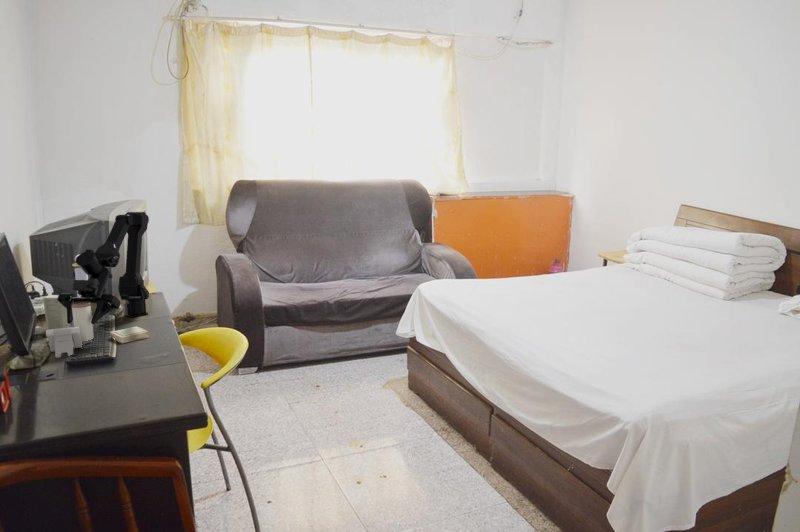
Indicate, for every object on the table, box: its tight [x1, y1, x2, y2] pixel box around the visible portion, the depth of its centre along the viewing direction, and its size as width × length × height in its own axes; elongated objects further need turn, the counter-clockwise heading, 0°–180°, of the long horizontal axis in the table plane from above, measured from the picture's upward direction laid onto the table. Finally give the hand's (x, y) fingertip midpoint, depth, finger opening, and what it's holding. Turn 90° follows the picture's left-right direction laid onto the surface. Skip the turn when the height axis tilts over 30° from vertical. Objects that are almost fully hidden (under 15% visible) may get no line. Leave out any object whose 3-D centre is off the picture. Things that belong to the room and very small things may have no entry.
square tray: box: [109, 326, 150, 344], centre depth 197 cm, size 9×9×2 cm
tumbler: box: [71, 301, 95, 341], centre depth 191 cm, size 6×6×13 cm
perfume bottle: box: [71, 253, 89, 297], centre depth 243 cm, size 6×6×20 cm
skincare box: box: [42, 294, 72, 330], centre depth 205 cm, size 6×4×12 cm
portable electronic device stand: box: [45, 326, 84, 358], centre depth 181 cm, size 9×8×8 cm
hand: (80, 323), depth 190 cm, fingers open, 8 cm apart
